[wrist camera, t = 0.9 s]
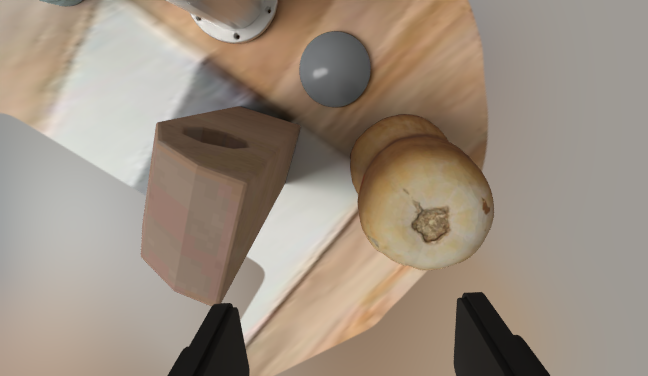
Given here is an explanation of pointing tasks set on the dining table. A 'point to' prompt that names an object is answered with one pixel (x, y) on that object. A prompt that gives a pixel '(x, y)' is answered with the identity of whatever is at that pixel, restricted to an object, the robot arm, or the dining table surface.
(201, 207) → the decorative block
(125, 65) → the dining table surface
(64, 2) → the grey-green cup
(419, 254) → the butternut squash
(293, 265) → the dining table surface
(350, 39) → the grey dome
